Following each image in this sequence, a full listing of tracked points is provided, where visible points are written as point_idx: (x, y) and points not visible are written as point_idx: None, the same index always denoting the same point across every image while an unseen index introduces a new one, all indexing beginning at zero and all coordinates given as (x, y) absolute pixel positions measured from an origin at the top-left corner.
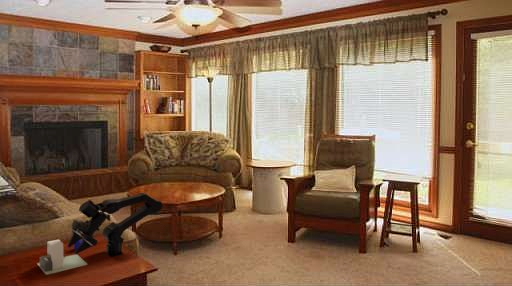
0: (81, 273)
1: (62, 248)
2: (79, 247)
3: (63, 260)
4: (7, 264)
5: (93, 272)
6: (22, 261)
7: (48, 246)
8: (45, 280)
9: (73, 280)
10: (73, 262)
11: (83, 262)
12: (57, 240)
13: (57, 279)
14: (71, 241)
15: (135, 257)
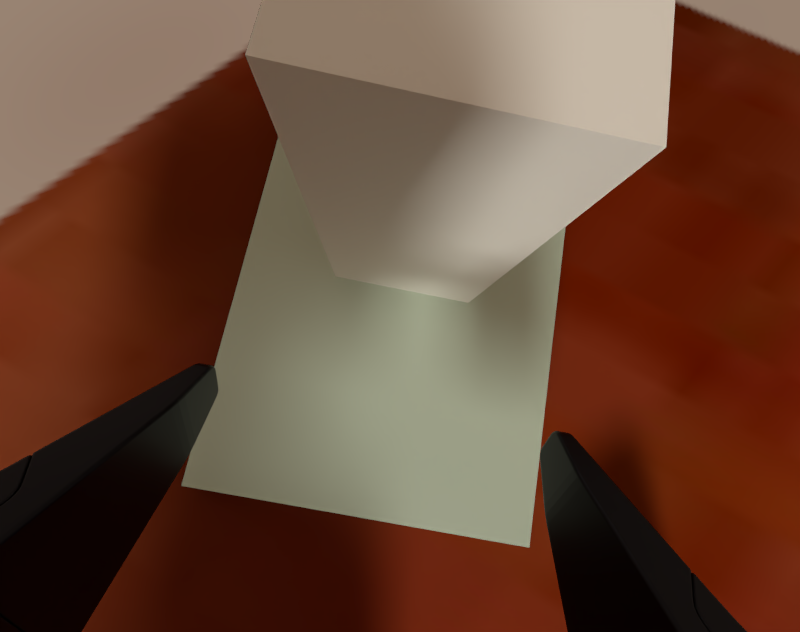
0: (104, 341)
1: (292, 142)
2: (42, 453)
3: (471, 350)
4: (724, 38)
5: (17, 440)
6: (715, 130)
7: None
8: (241, 72)
9: (40, 213)
10: (347, 397)
11: (265, 478)
12: (602, 78)
13: (178, 138)
14: (605, 542)
15: None
